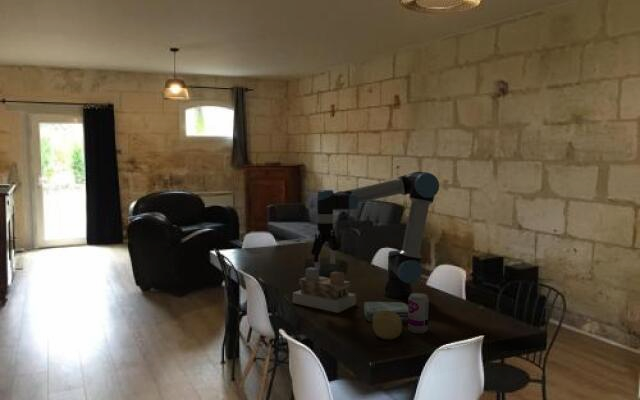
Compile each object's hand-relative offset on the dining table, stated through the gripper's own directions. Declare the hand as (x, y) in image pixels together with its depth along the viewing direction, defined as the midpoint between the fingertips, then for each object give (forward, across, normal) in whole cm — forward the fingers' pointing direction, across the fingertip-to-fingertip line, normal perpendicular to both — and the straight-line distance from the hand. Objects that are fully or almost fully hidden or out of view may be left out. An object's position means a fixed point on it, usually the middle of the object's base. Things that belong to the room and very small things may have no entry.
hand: (325, 266), depth 247 cm
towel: (+20, -2, +32) cm, 38 cm away
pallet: (+14, 0, 0) cm, 14 cm away
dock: (+18, 0, 0) cm, 19 cm away
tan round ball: (+19, +22, +44) cm, 53 cm away
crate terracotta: (+7, 0, +7) cm, 10 cm away
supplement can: (+19, +8, +52) cm, 56 cm away
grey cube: (+7, 0, -7) cm, 10 cm away
